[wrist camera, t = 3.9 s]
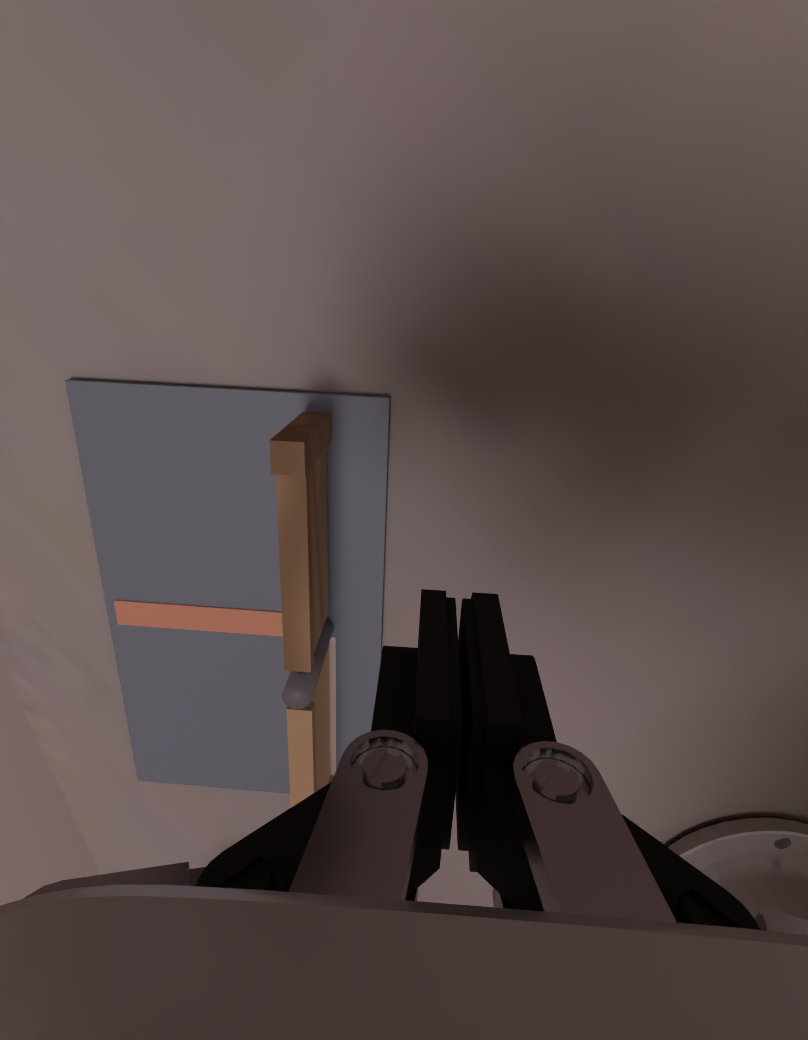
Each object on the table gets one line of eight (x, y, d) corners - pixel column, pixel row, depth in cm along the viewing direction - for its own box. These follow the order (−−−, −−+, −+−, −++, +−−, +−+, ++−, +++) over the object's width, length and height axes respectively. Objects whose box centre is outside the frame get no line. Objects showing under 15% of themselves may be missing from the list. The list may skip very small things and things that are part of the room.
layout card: (390, 396, 24) (375, 426, 19) (376, 795, 33) (363, 892, 27) (70, 378, 25) (-31, 402, 19) (141, 774, 33) (84, 865, 28)
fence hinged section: (331, 412, 24) (304, 442, 19) (332, 613, 27) (309, 678, 23) (303, 411, 24) (269, 440, 19) (308, 611, 27) (280, 676, 23)
